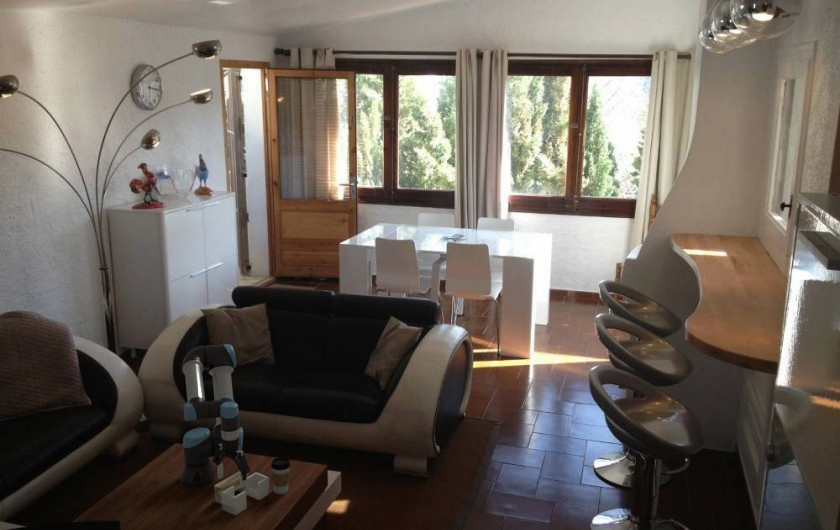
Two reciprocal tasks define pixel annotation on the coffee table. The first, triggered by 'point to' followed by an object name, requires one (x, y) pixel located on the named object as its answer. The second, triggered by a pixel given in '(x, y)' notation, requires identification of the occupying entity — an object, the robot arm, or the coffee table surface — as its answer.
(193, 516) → the coffee table surface
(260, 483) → the bracket pair
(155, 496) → the coffee table surface
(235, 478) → the rail
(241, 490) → the rest blocks
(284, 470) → the coffee cup
